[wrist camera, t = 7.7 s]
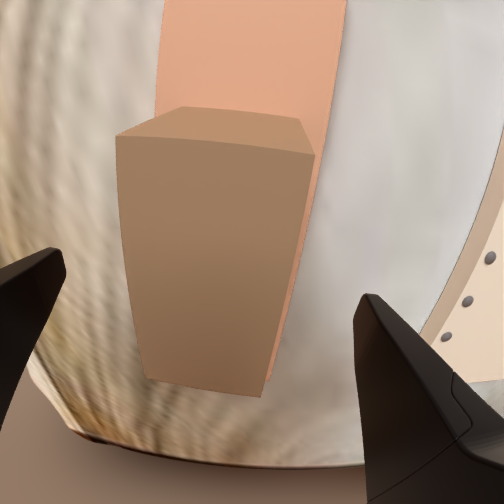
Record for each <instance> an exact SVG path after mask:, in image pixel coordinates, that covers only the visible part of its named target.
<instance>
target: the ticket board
mask: <svg viewBox="0 0 504 504" xmlns="http://www.w3.org/2000/svg"><path fill="white" fill-rule="evenodd" d="M419 335H420V336H421V337H422V338H423V339H424V340H425V341H426V342H427V343H428V344H429V345H430V346H431V347H432V348H433V349H434V350H435V351H436V352H437V353H438V354H439V355H440V356H441V357H442V359H443V360H444V361H445V362H446V363H447V364H448V365H449V366H450V367H451V368H452V369H453V372H454V371H455V372H456V373H457V374H458V375H459V376H460V377H461V378H462V379H463V380H464V381H465V382H466V383H470V382H481V381H490V380H498V379H504V129H503V133H502V138H501V141H500V145H499V149H498V153H497V156H496V160H495V163H494V167H493V170H492V173H491V176H490V180H489V183H488V186H487V189H486V192H485V195H484V198H483V200H482V203H481V206H480V209H479V211H478V214H477V217H476V219H475V222H474V224H473V227H472V229H471V232H470V234H469V237H468V239H467V241H466V244H465V246H464V248H463V251H462V253H461V255H460V257H459V260H458V262H457V264H456V266H455V268H454V270H453V272H452V274H451V277H450V279H449V281H448V283H447V285H446V287H445V289H444V291H443V293H442V294H441V296H440V298H439V300H438V302H437V304H436V306H435V308H434V310H433V311H432V313H431V315H430V317H429V319H428V320H427V322H426V324H425V326H424V327H423V329H422V331H421V332H420V334H419Z"/></svg>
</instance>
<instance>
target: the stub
mask: <svg viewBox="0 0 504 504" xmlns="http://www.w3.org/2000/svg"><path fill="white" fill-rule="evenodd" d="M346 1H347V0H165V3H164V11H163V19H162V27H161V36H160V46H159V57H158V69H157V83H156V100H155V118H153V119H151V120H148V121H146V122H144V123H142V124H139V125H137V126H135V127H133V128H131V129H128V130H126V131H124V132H122V133H120V134H118V135H116V171H117V190H118V204H119V217H120V228H121V238H122V247H123V255H124V263H125V271H126V278H127V285H128V291H129V298H130V304H131V310H132V315H133V321H134V326H135V331H136V337H137V342H138V346H139V351H140V356H141V360H142V365H143V369H144V374H145V378H148V379H152V380H157V381H161V382H166V383H171V384H176V385H181V386H186V387H192V388H197V389H203V390H209V391H215V392H222V393H229V394H236V395H244V396H252V397H261V394H262V390H263V386H264V383H265V381H269V379H270V376H271V372H272V368H273V365H274V361H275V357H276V354H277V350H278V346H279V342H280V339H281V335H282V331H283V327H284V323H285V319H286V315H287V311H288V307H289V303H290V299H291V295H292V291H293V287H294V283H295V279H296V274H297V270H298V266H299V262H300V257H301V253H302V249H303V244H304V240H305V235H306V231H307V226H308V222H309V217H310V212H311V208H312V203H313V198H314V193H315V188H316V183H317V178H318V173H319V168H320V163H321V158H322V153H323V148H324V142H325V137H326V132H327V126H328V120H329V115H330V109H331V103H332V97H333V91H334V85H335V79H336V73H337V66H338V60H339V53H340V46H341V39H342V32H343V25H344V17H345V9H346Z"/></svg>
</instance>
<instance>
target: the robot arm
mask: <svg viewBox="0 0 504 504" xmlns="http://www.w3.org/2000/svg"><path fill="white" fill-rule="evenodd" d="M65 278H66V268H65V264H64V259H63V255H62V252H61V250H60V249H57V248H52V247H49V248H46V249H44V250H41V251H39V252H37V253H34V254H32V255H30V256H27V257H25V258H23V259H21V260H18V261H16V262H14V263H12V264H10V265H7V266H5V267H3V268H1V269H0V431H1V428H2V424H3V422H4V419H5V416H6V413H7V410H8V408H9V405H10V402H11V400H12V397H13V395H14V392H15V390H16V387H17V385H18V382H19V380H20V378H21V375H22V373H23V371H24V368H25V366H26V364H27V362H28V360H29V357H30V355H31V353H32V351H33V349H34V347H35V344H36V342H37V340H38V338H39V336H40V334H41V332H42V330H43V328H44V326H45V324H46V322H47V320H48V318H49V316H50V313H51V311H52V309H53V306H54V304H55V301H56V299H57V297H58V294H59V292H60V290H61V287H62V285H63V283H64V281H65ZM353 333H354V364H355V376H356V383H357V391H358V399H359V408H360V417H361V426H362V436H363V447H364V460H365V474H366V489H367V490H366V491H367V501H368V502H367V504H504V419H503V418H502V417H501V416H500V415H499V414H498V413H497V412H496V411H495V410H494V409H493V408H492V407H490V406H489V405H488V404H487V403H486V402H485V401H484V400H483V399H482V398H481V397H480V396H479V395H478V394H477V393H476V392H474V390H473V389H472V388H471V387H470V386H469V385H468V384H467V383H466V382H465V381H464V380H463V379H462V378H461V377H460V376H459V375H458V374H457V373H456V372H455V371H454V372H453V369H452V368H451V367H450V366H449V365H448V364H447V363H446V362H445V361H444V360H443V359H442V357H441V356H440V355H439V354H438V353H437V352H436V351H435V350H434V349H433V348H432V347H431V346H430V345H429V344H428V343H427V342H426V341H425V340H424V339H423V338H422V337H421V336H420V335H419V334H418V333H417V332H416V331H415V330H414V329H413V328H412V327H411V326H410V325H409V324H408V323H407V322H405V321H404V320H403V319H402V318H401V317H400V316H399V315H398V314H397V313H396V312H395V311H394V310H393V309H392V308H391V307H390V306H389V305H388V304H387V303H386V302H385V301H384V300H383V299H382V298H381V297H379V296H378V295H376V294H368V293H365V294H363V296H362V297H361V299H360V302H359V304H358V307H357V309H356V312H355V314H354V318H353Z"/></svg>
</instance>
